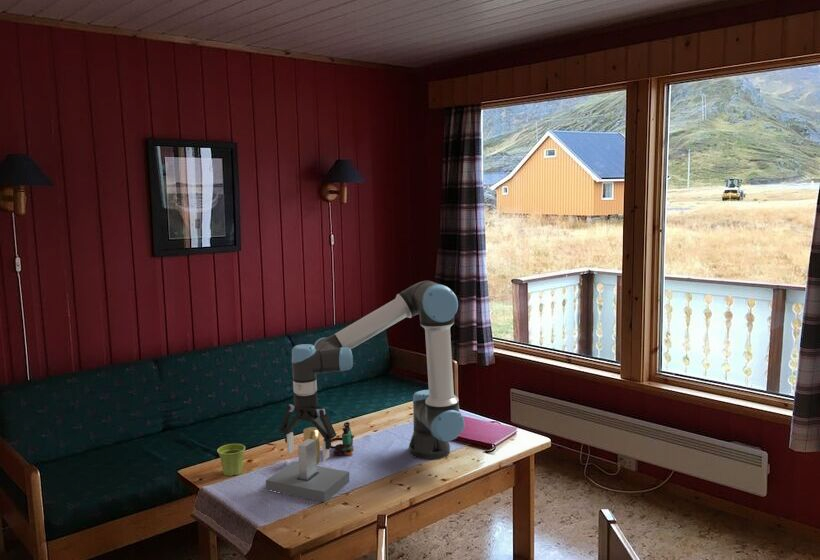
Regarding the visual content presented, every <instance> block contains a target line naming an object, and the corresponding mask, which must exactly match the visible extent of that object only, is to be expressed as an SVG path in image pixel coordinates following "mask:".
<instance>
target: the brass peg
mask: <svg viewBox="0 0 820 560" xmlns="http://www.w3.org/2000/svg"><path fill="white" fill-rule="evenodd" d="M302 431H303V442H304V441H305V440H307V439H313V440H316V461H317V465H318V463H319V462H320V463H321V453H320V451H321V448H320V432H319V431H318V429H317V428H316V427H315V426H312V427H311V426H309V427H306V428H304V429H303V430H302ZM320 463H319V464H320Z"/></svg>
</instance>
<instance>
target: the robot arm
mask: <svg viewBox="0 0 820 560" xmlns="http://www.w3.org/2000/svg"><path fill="white" fill-rule="evenodd" d="M458 309H459V301H458V297H457V295H456V294H455V293H454V291H453V290H452V289H451V288H450V287H448V286H446V285H444V284H440V283H438V282H434V281H432V280H423V281H419V282H417V283H415V284H413V285H410V286H409V287H408V288H407V287H406V289H405V290H402V291H401V292H399V293H397V294H396V296H395V298H394V299H392V300H391V301H389V302H387V303H385V304H384V305H382V306H380V307H379V308H377V309H375V310H374V311H371V312H370V313H368V314H366V315H365V316H363V317H362V318H360V319H358V320H356V321H355V322H353V323H351V324H349V325H347V326H346V327H344V328H342V329H341V330H338V331H337V332H335V333H334V334H332V335H330V336H328V337H321V338H320V337H319V339H317V340H316V341H315V342H314V344H310V343H307V344H305V343H304V344H303V343H302V344H297V345H295V346H293V348H292V349H291V368H292V370H291V371H292V387H293V388H292V389H293V393H294V394H293V403H289V404H288V405H287V406H286V407H285V413H284V416H283V419H282V421H281V424H280V426H279V429H278V431H279V432H282V433H283V434H284V441H285V442H284V443H286V448H287V449H286V451H287V454H288V455H289V454H292V453H293V452H295V445H294V444H295V442H294V440H295V439H294V432H293V431H292V430H293V429H294V428H295V426H296V425H297V424H298V423H299V421H301V422H310V423H311V424H313V425H314V427H316V428H317V429H318V431H319V434H320V435H321V436H322V438H323V439H322V440H321V442H322V460H323V461H325V460H327V459H328V458H330V456H331V455H330V449H331V446H332V442H331V439H333V438H336V436H337V433H336V431H335V429H334V427H333V423H331V421H330V418H329V416H328V412H327V408H326V407H323V408H318V392H317V391H318V385H317V383H318V382H317V380H318V379H317V375H318V374H325V373H335V372H344V371H349V370H352V369H353V366H354V358H353V357H354V356H353V352H352V349H354V348H356V347H357V346H360V345H361V344H362V343H364V342H366V341H368V340H369V339H371V338H374V336H375V337H376V335H378V334H380V333H382V332H383V331H385V330H387V329H389V328H390V327H392V326H393V325H395V324H397V323H399V322H400V321H402V320H404V319H405V318H409V319H411V318H413V317H415V316H417V315H419V324H420V326H421V327H422V328H423V329H424V335H425V349H426V350H425V351H426V366H427V379H428V380H427V381H428V382H427V383H428V389H423V390H419V391H416V392H414V394H413V397H412V398H413V399H412V405H413V406H412V408H413V409H412V410H413V411H412V412H413V413H412V415H413V416H412V417H413V419H412V420H413V432H412V435H411V438H410V441H409V445H408V450H409V451H408V453H409V454H410V455H411V456H412V457H414V458H417V459H421V460H437V459H442V458H445V457H447V456H448V455H450V453H451V446H450V442H451V441H453V440H456V439H457V438H458V437H459V436H460V435H461V434H462V433H463V431H464V429H465V418H464V416H463V414H462V413H461V412H460V402H459V401H460V400H459V397H458V396H457V395H456V394H455V392H454V390H455V389H454V373H453V372H454V371H453V356H452V355H453V354H452V340H451V338H452V334H451V327H452V326H453V325H454V324H455V315H456V314H457V312H458ZM294 412H295V415H294V417H293V419H292V420H291V417H292V415H293V413H294ZM290 420H291V422H290ZM289 422H290V423H289Z"/></svg>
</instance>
